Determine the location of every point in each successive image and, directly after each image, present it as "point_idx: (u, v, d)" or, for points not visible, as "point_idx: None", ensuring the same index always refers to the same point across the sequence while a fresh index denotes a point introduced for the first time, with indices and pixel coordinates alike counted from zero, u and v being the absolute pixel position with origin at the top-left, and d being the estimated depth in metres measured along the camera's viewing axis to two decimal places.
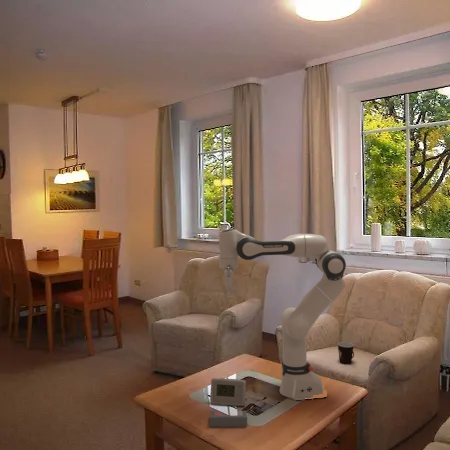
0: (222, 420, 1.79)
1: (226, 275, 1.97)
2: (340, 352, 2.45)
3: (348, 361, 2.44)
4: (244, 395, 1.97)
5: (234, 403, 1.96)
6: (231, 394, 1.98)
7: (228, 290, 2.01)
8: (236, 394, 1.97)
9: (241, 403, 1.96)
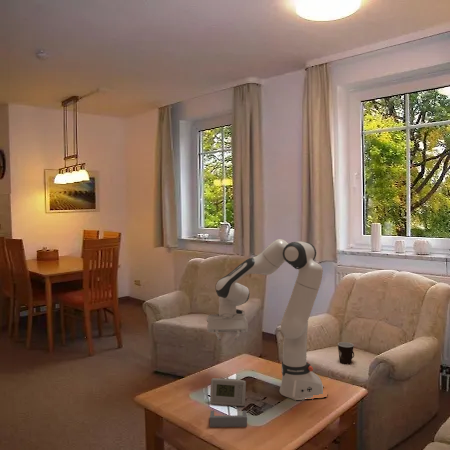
0: (222, 420, 1.79)
1: None
2: (340, 352, 2.45)
3: (348, 361, 2.44)
4: (244, 395, 1.97)
5: (234, 403, 1.96)
6: (231, 394, 1.98)
7: (216, 335, 2.17)
8: (236, 394, 1.97)
9: (241, 403, 1.96)
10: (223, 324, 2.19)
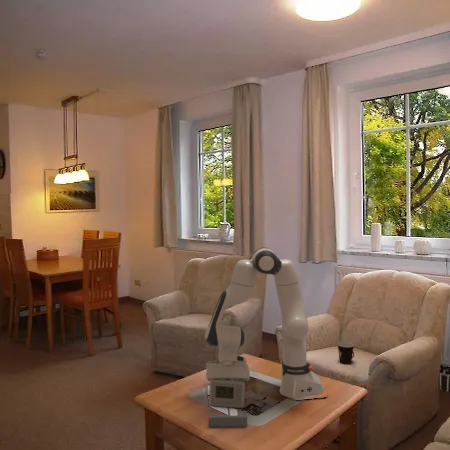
0: (222, 420, 1.79)
1: None
2: (340, 352, 2.45)
3: (348, 361, 2.44)
4: (243, 397, 1.95)
5: (233, 405, 1.94)
6: (230, 396, 1.96)
7: None
8: (235, 396, 1.95)
9: (240, 405, 1.94)
10: (223, 372, 2.05)
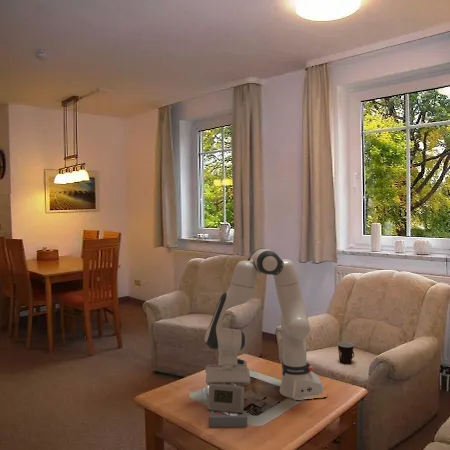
0: (222, 420, 1.79)
1: None
2: (340, 352, 2.45)
3: (348, 361, 2.44)
4: (242, 402, 1.90)
5: (232, 410, 1.90)
6: (229, 401, 1.92)
7: None
8: (234, 400, 1.91)
9: (239, 410, 1.90)
10: (223, 376, 2.00)
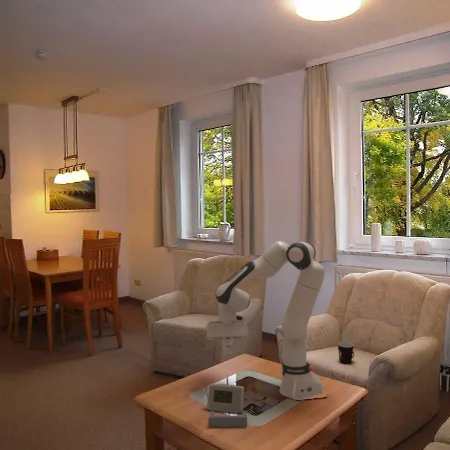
0: (222, 420, 1.79)
1: None
2: (340, 352, 2.45)
3: (348, 361, 2.44)
4: (242, 402, 1.90)
5: (231, 410, 1.90)
6: (229, 401, 1.91)
7: (224, 342, 2.12)
8: (233, 401, 1.91)
9: (238, 410, 1.89)
10: (223, 331, 2.14)
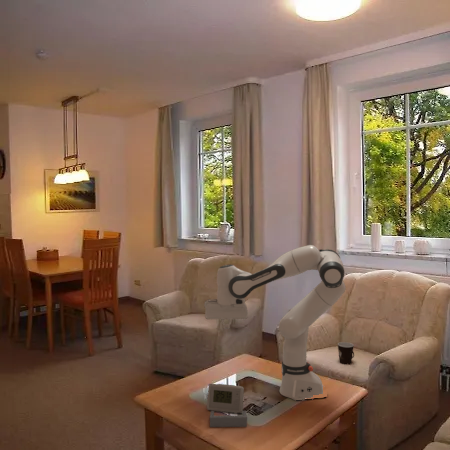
0: (222, 420, 1.79)
1: None
2: (340, 352, 2.45)
3: (348, 361, 2.44)
4: (241, 402, 1.90)
5: (231, 410, 1.90)
6: (229, 401, 1.91)
7: None
8: (233, 401, 1.91)
9: (238, 410, 1.89)
10: (222, 313, 2.06)
